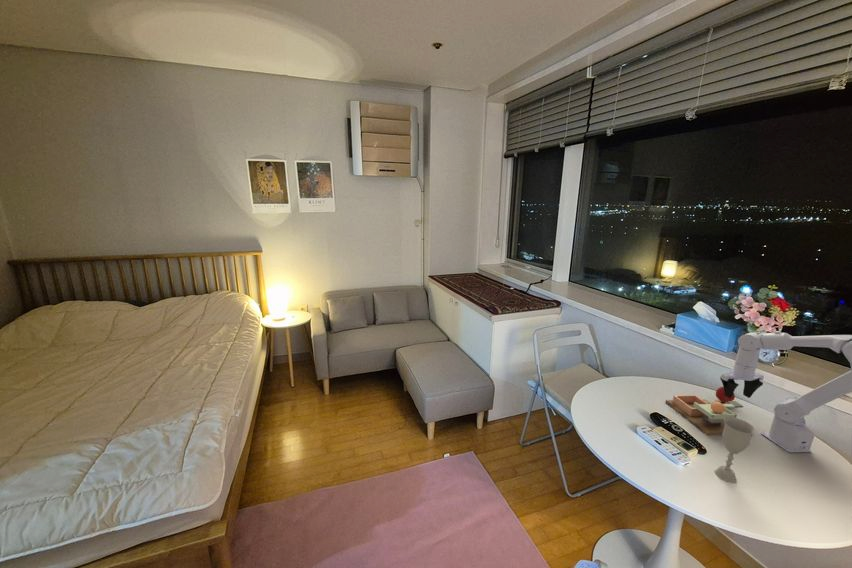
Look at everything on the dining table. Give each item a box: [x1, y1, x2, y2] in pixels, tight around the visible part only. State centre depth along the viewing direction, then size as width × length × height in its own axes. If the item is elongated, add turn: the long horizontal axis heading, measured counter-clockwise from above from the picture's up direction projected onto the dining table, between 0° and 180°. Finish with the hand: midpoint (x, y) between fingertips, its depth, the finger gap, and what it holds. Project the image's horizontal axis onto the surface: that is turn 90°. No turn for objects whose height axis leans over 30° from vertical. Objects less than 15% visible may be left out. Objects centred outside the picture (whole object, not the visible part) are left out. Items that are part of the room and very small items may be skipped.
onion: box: [715, 386, 736, 404], centre depth 137 cm, size 6×6×8 cm
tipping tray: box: [693, 400, 744, 423], centre depth 123 cm, size 10×18×3 cm, turn 92°
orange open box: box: [672, 394, 707, 416], centre depth 132 cm, size 9×9×3 cm
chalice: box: [714, 417, 756, 484], centre depth 99 cm, size 7×7×18 cm
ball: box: [711, 401, 725, 413], centre depth 121 cm, size 4×4×4 cm
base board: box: [665, 398, 725, 436], centre depth 128 cm, size 20×17×5 cm
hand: (737, 396), depth 126 cm, fingers open, 7 cm apart
